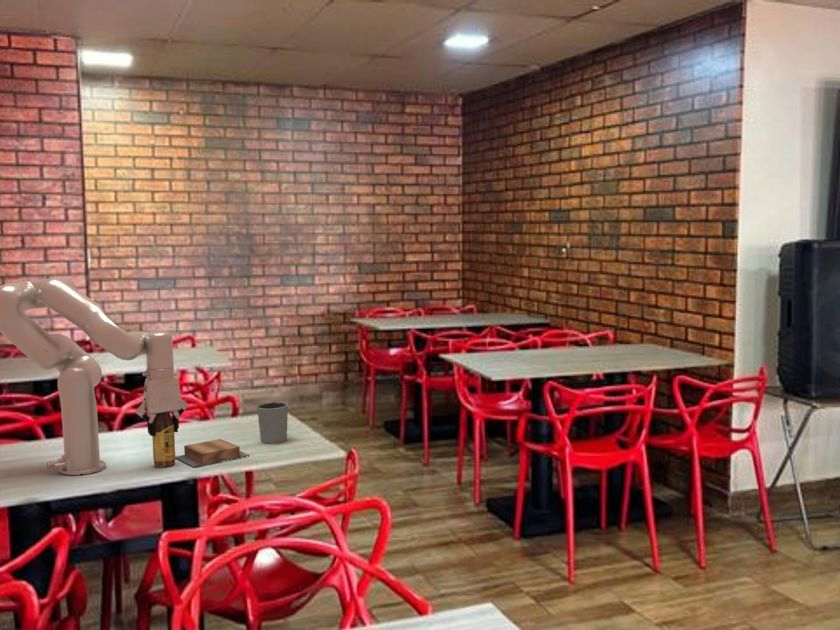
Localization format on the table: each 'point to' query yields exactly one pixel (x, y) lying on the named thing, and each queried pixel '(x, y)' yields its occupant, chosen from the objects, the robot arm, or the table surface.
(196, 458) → the brown block with base
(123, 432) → the table surface
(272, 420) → the grey cup
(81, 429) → the robot arm
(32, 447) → the table surface
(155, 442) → the sauce bottle
